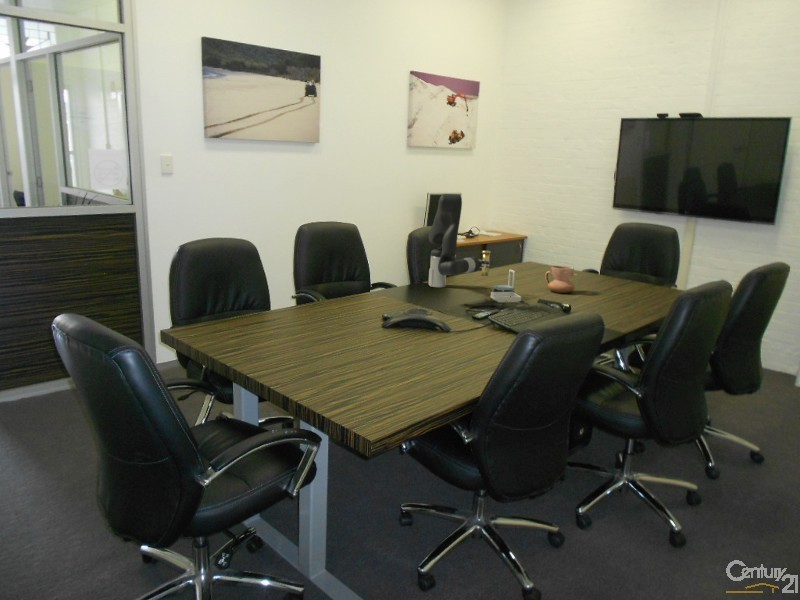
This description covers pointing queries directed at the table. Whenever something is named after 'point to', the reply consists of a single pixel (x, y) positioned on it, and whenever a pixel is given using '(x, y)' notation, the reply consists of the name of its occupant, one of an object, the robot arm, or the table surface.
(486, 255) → the stop pin
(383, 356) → the table surface
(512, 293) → the tray
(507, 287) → the trolley
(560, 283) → the ceramic jug
